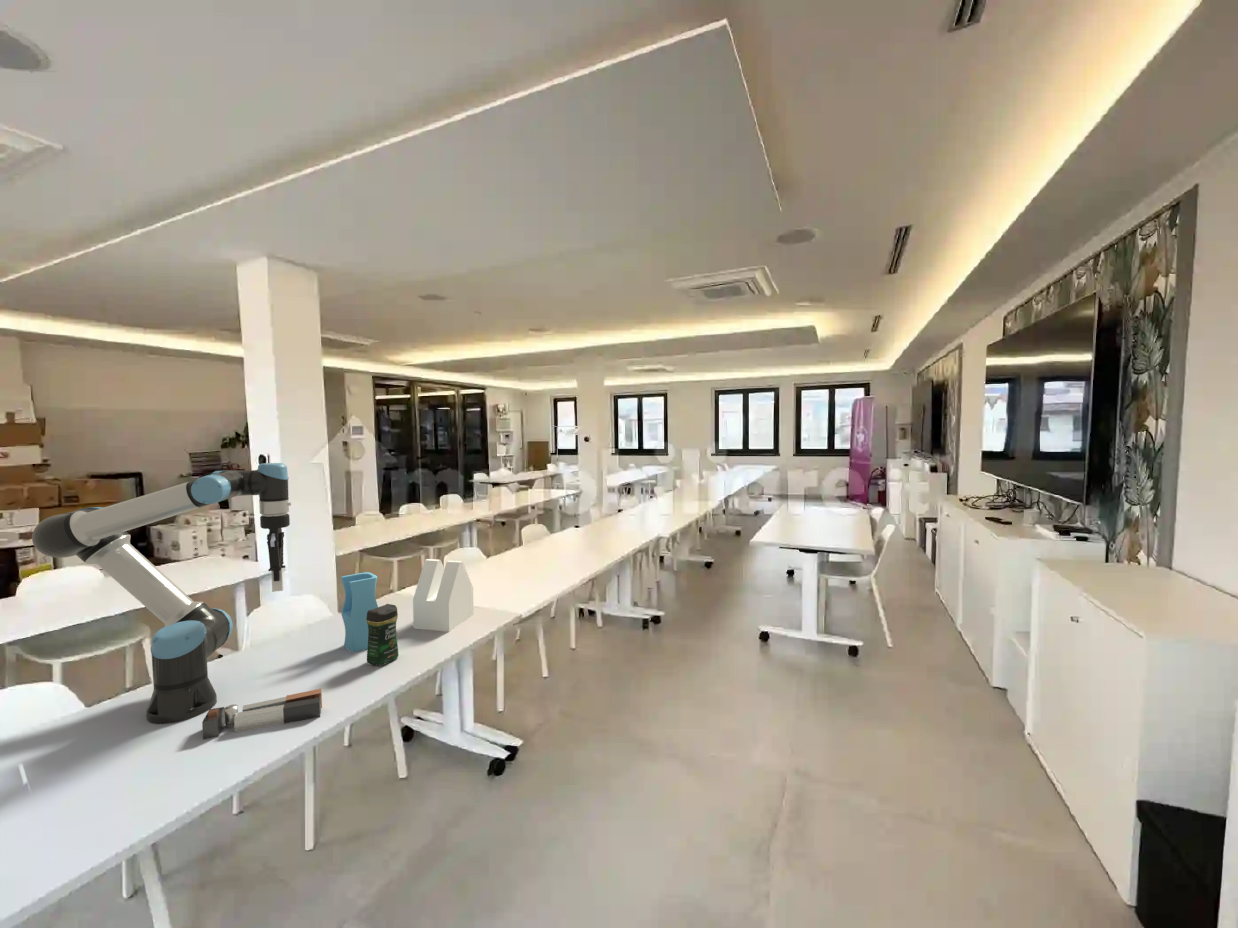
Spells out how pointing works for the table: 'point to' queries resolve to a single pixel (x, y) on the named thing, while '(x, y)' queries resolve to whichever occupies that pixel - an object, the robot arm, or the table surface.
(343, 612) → the vase
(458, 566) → the white slotted block
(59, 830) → the table surface
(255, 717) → the tongs fixed
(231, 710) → the tongs arm
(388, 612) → the coffee jar
